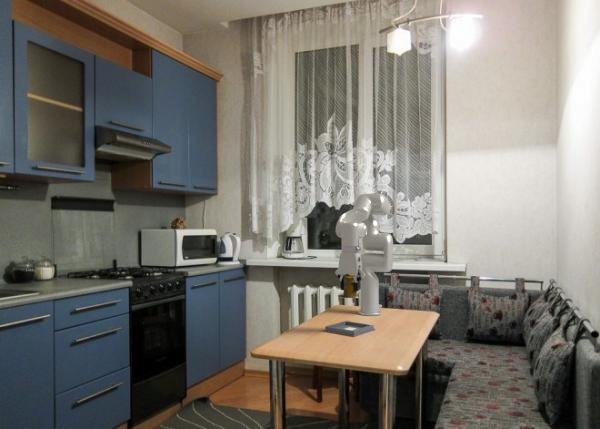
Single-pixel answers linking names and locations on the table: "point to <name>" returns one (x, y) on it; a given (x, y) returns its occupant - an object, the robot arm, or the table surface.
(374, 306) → the robot arm
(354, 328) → the dock
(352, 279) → the condiment
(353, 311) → the table surface
